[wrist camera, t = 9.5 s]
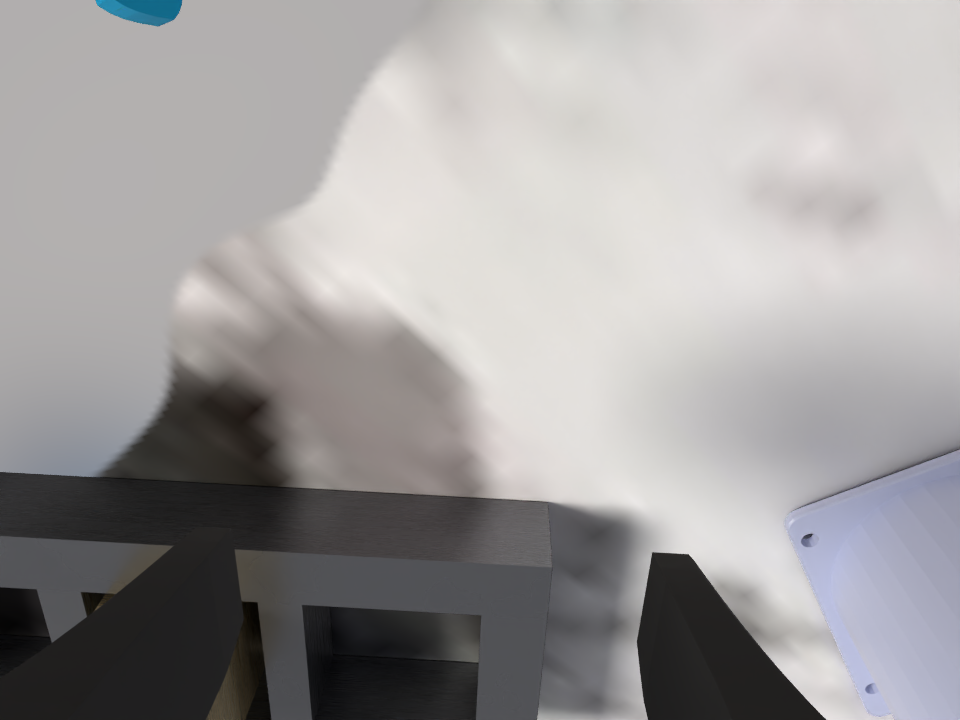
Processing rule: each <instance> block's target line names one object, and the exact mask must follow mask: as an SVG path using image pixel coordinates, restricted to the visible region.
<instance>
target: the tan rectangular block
mask: <svg viewBox="0 0 960 720" xmlns="http://www.w3.org/2000/svg"><path fill="white" fill-rule="evenodd" d="M114 595H115V594H109V593H106V594H105V596H104V597H103V599H102V600H101V602H100V603H99V604H98V606H97V607H96V609H95V610H97V609H98V608H99V607H101V606H102V605H103V604H104V603H105V602H107V601H108V600H109V599H110V598H112V597H113V596H114ZM242 609H243V617H244V620H243V623H242V626H241V630H240V633H239V636H238V639H237V643H236V646H235V649H234V652H233V655H232V658H231V661H230V664H229V668H228V671H227V674H226V676H225V678H224V681H223V683H222V685H221V688H220V690H219V692H218V694H217V696H216V699H215V701H214V703H213V705H212V707H211V710H210V712H209V714H208V716H207V718H206V720H245V719H246V716H247V714H248V711H249V708H250V706H251V703H252V700H253V698H254V695H255V692H256V690H257V687H258V684H259V682H260V679H261V676H262V674H263V671H264V668H265V661H264V652H263V644H262V635H261V627H260V619H259V610H258V602H245V601H242ZM95 610H94V611H95Z"/></svg>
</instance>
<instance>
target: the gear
mask: <svg viewBox="0 0 960 720" xmlns="http://www.w3.org/2000/svg"><path fill="white" fill-rule="evenodd" d="M96 3H97V5H98V6H99V7H101V8H103V9H104V10H106V11H107V12H109V13H111V14H113V15H115V16H118V17H120V18H123V19H126V20H130V21H134V22H137V23H142V24H148V25H154V26H160V25H163V24H165V23H167V22H170V21H172V20H174V19H175V18H176V16H177V15H178V13H179V11H180V8H181V5H182V0H96Z"/></svg>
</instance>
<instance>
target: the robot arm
mask: <svg viewBox="0 0 960 720" xmlns="http://www.w3.org/2000/svg"><path fill="white" fill-rule="evenodd" d="M784 525H785V529H786V531H787V533H788V536H789V538H790V540H791V542H792V545H793V547H794V549H795V551H796V554H797V556H798V558H799V560H800V563H801V565H802V567H803V570H804V572H805V574H806V576H807V579H808V581H809V583H810V585H811V588H812V590H813V592H814V595H815V597H816V599H817V601H818V604H819V606H820V608H821V610H822V613H823V615H824V617H825V619H826V622H827V624H828V626H829V629H830V631H831V633H832V635H833V638H834V640H835V642H836V644H837V647H838V649H839V651H840V654H841V656H842V658H843V660H844V663H845V665H846V667H847V669H848V672H849V674H850V676H851V678H852V681H853V683H854V685H855V688H856V690H857V692H858V694H859V697H860V699H861V701H862V703H863V705H864V707H865V709H866V711H867V712H868V713H869V714H870V715H873V716H879V717H880V716H885V715H889V714H892V716H893V718H894V720H960V450H957V451H954V452H952V453H949V454H946V455H943V456H941V457H938V458H935V459H932V460H930V461H927V462H924V463H922V464H919V465H916V466H913V467H911V468H908V469H905V470H902V471H900V472H897V473H894V474H892V475H889V476H886V477H883V478H881V479H878V480H875V481H872V482H870V483H867V484H864V485H862V486H859V487H856V488H853V489H851V490H848V491H845V492H842V493H840V494H837V495H834V496H832V497H829V498H826V499H823V500H821V501H818V502H815V503H812V504H810V505H807V506H804V507H801V508H799V509H796V510H794V511H792V512H790V513H789V514H788V515H787V517H786V518H785V521H784ZM807 534H813V535H812V536H811V537H810V538H808V539H802V538H803V536H805V535H807ZM243 620H244V617H243V609H242V601H241V594H240V586H239V579H238V571H237V563H236V556H235V548H234V541H233V533H232V529H229V528H211V527H196V528H195V529H194V530H192V531H191V532H190V533H189V534H187V535H186V536H185V537H184V538H183V539H181V540H180V541H179V542H178V543H177V544H175V545H174V546H173V547H172V548H171V549H169V550H168V551H167V552H166V553H165V554H163V555H162V556H161V557H160V558H159V559H158V560H156V561H155V562H154V563H153V564H152V565H150V566H149V567H148V568H147V569H146V570H144V571H143V572H142V573H141V574H140V575H139V576H137V577H136V578H135V579H134V580H133V581H131V582H130V583H129V584H128V585H126V586H125V587H124V588H123V589H121V590H120V591H119V592H118V593H117V594H115V595H114V596H113V597H112V598H110V599H109V600H108V601H107V602H105V603H104V604H103V605H102V606H101V607H99V608H98V609H97V610H95V611H94V612H93V613H91V614H90V615H89V616H87V617H86V618H85V619H83V620H82V621H81V622H79V623H78V624H77V625H75V626H74V627H73V628H71V629H70V630H69V631H67V632H66V633H65V634H63V635H62V636H61V637H59V638H58V639H57V640H55V641H54V642H53V643H51V644H50V645H49V646H47V647H46V648H44V649H43V650H41V651H40V652H39V653H37V654H36V655H34V656H33V657H31V658H30V659H28V660H27V661H25V662H24V663H22V664H21V665H20V666H18V667H17V668H15V669H13V670H12V671H10V672H9V673H7V674H6V675H4V676H3V677H1V678H0V720H206V718H207V716H208V714H209V712H210V710H211V707H212V705H213V703H214V701H215V699H216V696H217V694H218V692H219V690H220V688H221V685H222V683H223V681H224V678H225V676H226V674H227V671H228V668H229V664H230V661H231V658H232V655H233V652H234V649H235V646H236V643H237V639H238V636H239V633H240V630H241V626H242V623H243ZM637 647H638V656H639V665H640V674H641V682H642V690H643V698H644V704H645V708H646V712H647V717H648V720H826V719H825V718H824V717H823V716H822V715H821V714H820V713H819V712H818V711H817V710H816V709H815V708H814V707H813V706H812V705H811V704H810V703H809V702H808V701H807V699H806V698H805V697H804V696H803V695H802V694H801V693H800V692H799V691H798V690H797V689H796V687H795V686H794V685H793V684H792V683H791V682H790V681H789V680H788V679H787V678H786V676H785V675H784V674H783V673H782V672H781V671H780V670H779V669H778V667H777V666H776V665H775V664H774V663H773V662H772V660H771V659H770V658H769V657H768V656H767V655H766V653H765V652H764V651H763V650H762V648H761V647H760V646H759V645H758V644H757V642H756V641H755V640H754V639H753V637H752V636H751V635H750V634H749V633H748V631H747V630H746V629H745V628H744V626H743V625H742V624H741V623H740V621H739V620H738V619H737V618H736V616H735V615H734V614H733V612H732V611H731V610H730V608H729V607H728V606H727V605H726V603H725V602H724V601H723V599H722V598H721V597H720V595H719V594H718V593H717V591H716V590H715V589H714V587H713V586H712V585H711V583H710V582H709V580H708V579H707V578H706V576H705V575H704V574H703V572H702V571H701V570H700V568H699V567H698V565H697V564H696V563H695V561H694V560H693V559H692V558H691V557H690V556H689V554H671V553H654V552H652V558H651V564H650V569H649V575H648V581H647V587H646V593H645V598H644V604H643V610H642V616H641V622H640V627H639V633H638V639H637ZM871 683H872V684H871Z"/></svg>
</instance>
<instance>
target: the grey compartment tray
mask: <svg viewBox="0 0 960 720" xmlns="http://www.w3.org/2000/svg"><path fill="white" fill-rule="evenodd" d="M196 527H211V528H229V529H232V533H233V541H234V548H235V556H236V563H237V571H238V579H239V586H240V594H241V601H245V602H258V610H259V619H260V627H261V635H262V644H263V652H264V661H265V668H264V671H263V674H262V676H261V679H260V682H259V684H258V687H257V690H256V692H255V695H254V698H253V700H252V703H251V706H250V708H249V711H248V714H247V716H246V719H245V720H537V715H538V705H539V695H540V685H541V675H542V665H543V655H544V645H545V635H546V625H547V615H548V605H549V595H550V585H551V576H552V556H551V541H550V526H549V511H548V502H532V501H514V500H496V499H477V498H459V497H441V496H423V495H405V494H387V493H369V492H351V491H333V490H314V489H296V488H278V487H260V486H242V485H224V484H206V483H188V482H169V481H151V480H133V479H115V478H97V477H79V476H61V475H60V476H59V475H43V474H25V473H6V472H0V587H6V588H23V589H37V592H38V596H39V599H40V603H41V606H42V610H43V613H44V617H45V620H46V624H47V627H48V631H49V634H50V638H42V637H26V636H9V635H0V678H1V677H3V676H4V675H6V674H7V673H9V672H10V671H12V670H13V669H15V668H17V667H18V666H20V665H21V664H22V663H24V662H25V661H27V660H28V659H30V658H31V657H33V656H34V655H36V654H37V653H39V652H40V651H41V650H43V649H44V648H46V647H47V646H49V645H50V644H51V643H53V642H54V641H55V640H57V639H58V638H59V637H61V636H62V635H63V634H65V633H66V632H67V631H69V630H70V629H71V628H73V627H74V626H75V625H77V624H78V623H79V622H81V621H82V620H83V619H85V618H86V617H87V616H89V615H90V614H91V613H93V612H94V610H95V609H96V607H97V606H98V604H99V603H100V602H101V600H102V599H103V597H104V596H105V594H106V593H109V594H117V593H118V592H119V591H120V590H121V589H123V588H124V587H125V586H126V585H128V584H129V583H130V582H131V581H133V580H134V579H135V578H136V577H137V576H139V575H140V574H141V573H142V572H143V571H144V570H146V569H147V568H148V567H149V566H150V565H152V564H153V563H154V562H155V561H156V560H158V559H159V558H160V557H161V556H162V555H163V554H165V553H166V552H167V551H168V550H169V549H171V548H172V547H173V546H174V545H175V544H177V543H178V542H179V541H180V540H181V539H183V538H184V537H185V536H186V535H187V534H189V533H190V532H191V531H192V530H194V529H195V528H196ZM330 606H331V607H348V608H365V609H382V610H399V611H416V612H433V613H451V614H468V615H481V629H480V649H479V664H476V663H460V662H443V661H426V660H410V659H393V658H376V657H360V656H343V655H333V645H332V630H331V614H330Z"/></svg>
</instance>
